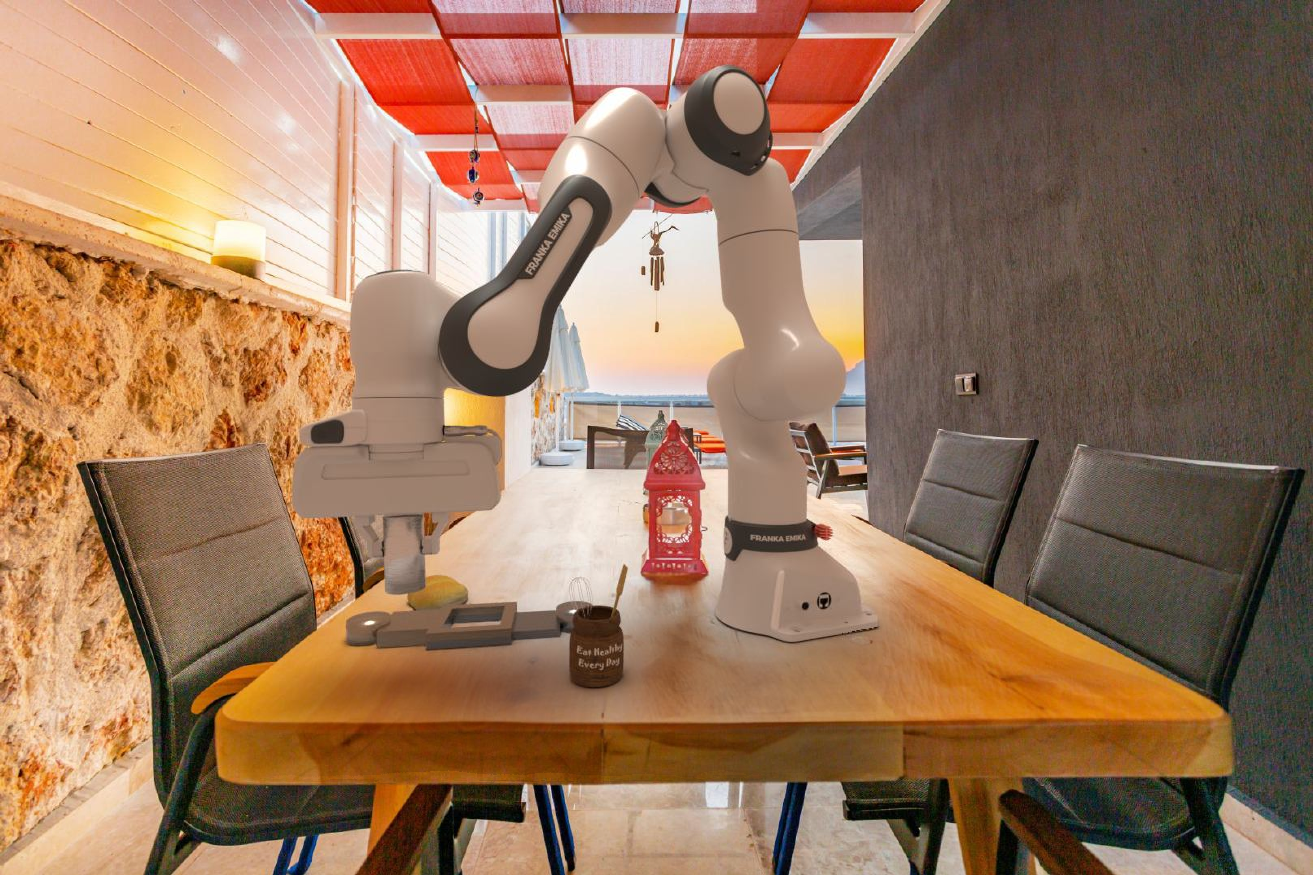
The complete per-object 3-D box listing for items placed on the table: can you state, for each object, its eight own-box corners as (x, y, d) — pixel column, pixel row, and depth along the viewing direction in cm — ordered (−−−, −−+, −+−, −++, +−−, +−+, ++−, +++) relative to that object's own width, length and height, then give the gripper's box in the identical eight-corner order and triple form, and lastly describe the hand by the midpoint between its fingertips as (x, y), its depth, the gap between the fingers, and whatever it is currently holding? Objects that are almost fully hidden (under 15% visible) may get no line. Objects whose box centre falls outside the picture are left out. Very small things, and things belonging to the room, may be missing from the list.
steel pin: (429, 581, 61) (427, 510, 60) (420, 593, 57) (418, 517, 56) (391, 583, 60) (389, 512, 60) (379, 595, 56) (377, 519, 56)
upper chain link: (517, 615, 77) (517, 598, 77) (511, 644, 67) (511, 624, 67) (361, 624, 74) (361, 605, 73) (331, 655, 64) (331, 635, 64)
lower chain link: (590, 611, 79) (590, 594, 79) (595, 638, 69) (595, 619, 69) (443, 619, 75) (442, 601, 75) (426, 649, 66) (425, 629, 66)
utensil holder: (564, 667, 61) (565, 562, 61) (619, 660, 63) (619, 558, 63) (573, 692, 56) (574, 577, 55) (632, 684, 58) (633, 572, 57)
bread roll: (420, 618, 76) (420, 590, 76) (402, 602, 83) (401, 576, 83) (477, 605, 82) (477, 579, 82) (455, 591, 89) (455, 567, 88)
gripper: (504, 424, 63) (507, 542, 63) (309, 427, 59) (314, 553, 60) (498, 425, 56) (501, 556, 57) (280, 428, 53) (286, 569, 53)
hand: (404, 554), depth 58 cm, fingers closed on steel pin, 4 cm apart
